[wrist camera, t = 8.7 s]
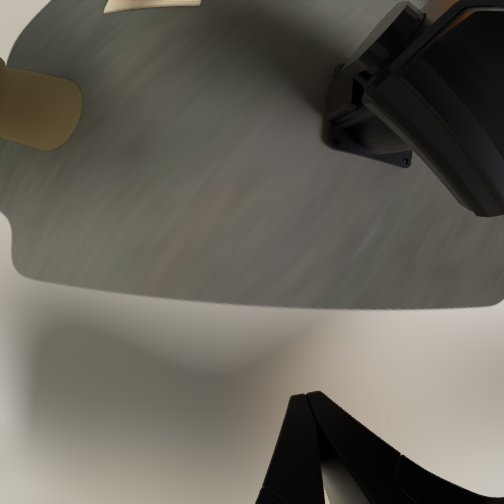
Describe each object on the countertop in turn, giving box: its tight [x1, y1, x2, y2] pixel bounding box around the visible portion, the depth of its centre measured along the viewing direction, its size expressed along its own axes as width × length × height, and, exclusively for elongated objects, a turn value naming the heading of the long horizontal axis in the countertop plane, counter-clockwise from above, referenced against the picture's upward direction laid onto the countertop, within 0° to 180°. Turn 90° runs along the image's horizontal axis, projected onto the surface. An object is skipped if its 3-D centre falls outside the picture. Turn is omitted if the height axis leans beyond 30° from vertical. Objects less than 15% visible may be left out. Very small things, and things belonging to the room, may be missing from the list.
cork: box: [0, 58, 83, 151], centre depth 11 cm, size 6×6×11 cm
